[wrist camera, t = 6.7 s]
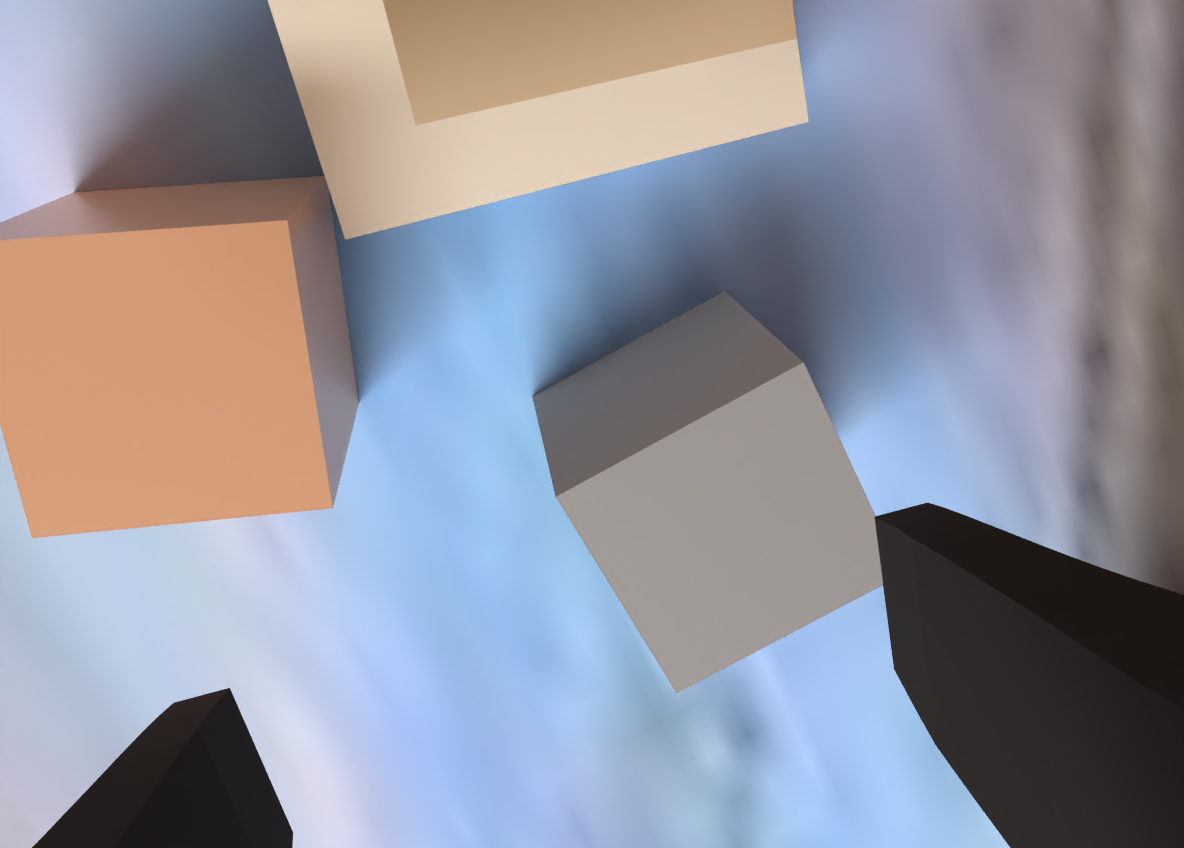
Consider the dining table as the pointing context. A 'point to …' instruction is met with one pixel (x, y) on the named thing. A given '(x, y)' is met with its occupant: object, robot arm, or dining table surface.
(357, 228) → the cream slab
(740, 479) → the slate block
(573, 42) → the maple block
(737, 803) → the dining table surface
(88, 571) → the dining table surface
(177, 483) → the terracotta block
